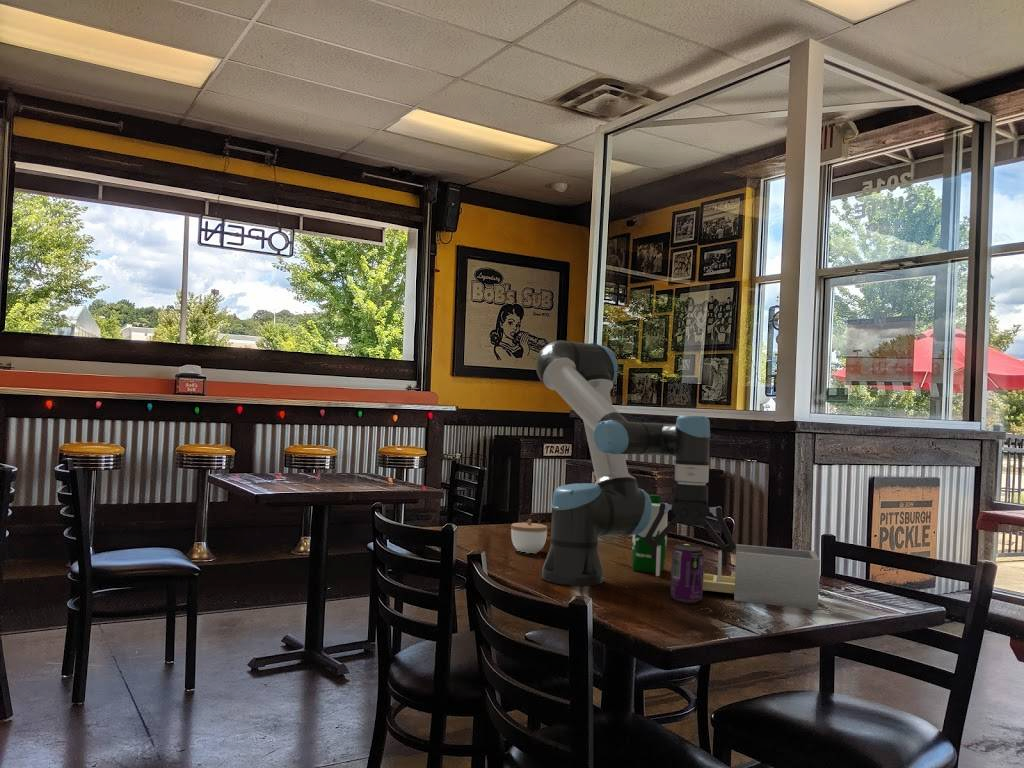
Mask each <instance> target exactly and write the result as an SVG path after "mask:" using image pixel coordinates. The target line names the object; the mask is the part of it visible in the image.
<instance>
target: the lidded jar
mask: <svg viewBox="0 0 1024 768" xmlns="http://www.w3.org/2000/svg"><path fill="white" fill-rule="evenodd" d="M510 528H511V529H510V535H511V542H512V544H513V547H514V548H515V550H517V552H518V551H521V552H526V553H525V554H529V553H533V554H538V553H539V551H541V550H542V549H543V548H544V546H545V543H546V542H547V541H546V540H547V536H548V535H547V534H548V525H545V524H541V523H535V522H532V519H530V518H529V519H528V520H527V522H513V523H512V524H510ZM521 552H520V553H521ZM537 552H538V553H537Z"/></svg>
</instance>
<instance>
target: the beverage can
mask: <svg viewBox="0 0 1024 768" xmlns="http://www.w3.org/2000/svg"><path fill="white" fill-rule="evenodd" d="M704 564H705V556H704V553H703V547H701V546H697V545H692V544H691V545H690V544H689V545H684V544H676V545H674V550H673V552H672V553H671V573H670V592H669V593H670V594H669V596H670V597H671V598H672V599H673V600H675V601H677V602H679V603H680V602H681V603H685V604H686V603H687V604H692V603H697V602H699V601H701V600H703V594H704V593H703V591H704V590H703V574H704V566H705V565H704Z"/></svg>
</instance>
